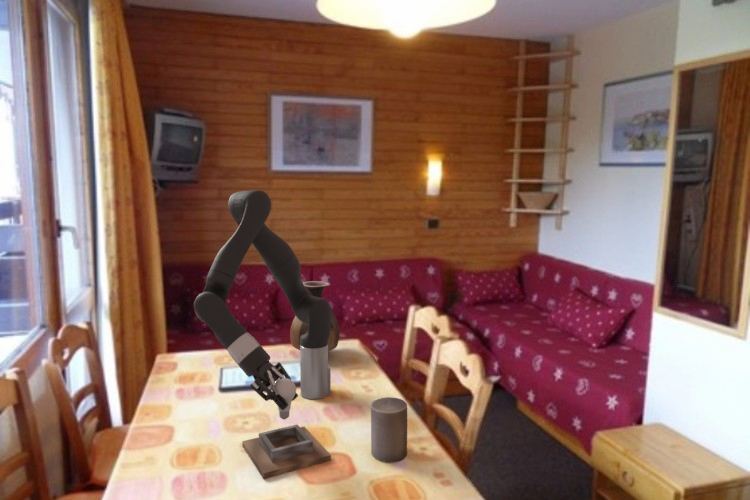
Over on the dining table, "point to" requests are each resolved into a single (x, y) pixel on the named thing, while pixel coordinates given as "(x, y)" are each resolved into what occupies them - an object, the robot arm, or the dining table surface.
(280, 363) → the robot arm
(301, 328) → the vase
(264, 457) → the bulb socket
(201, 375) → the dining table surface
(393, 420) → the pillar candle
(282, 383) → the lightbulb
